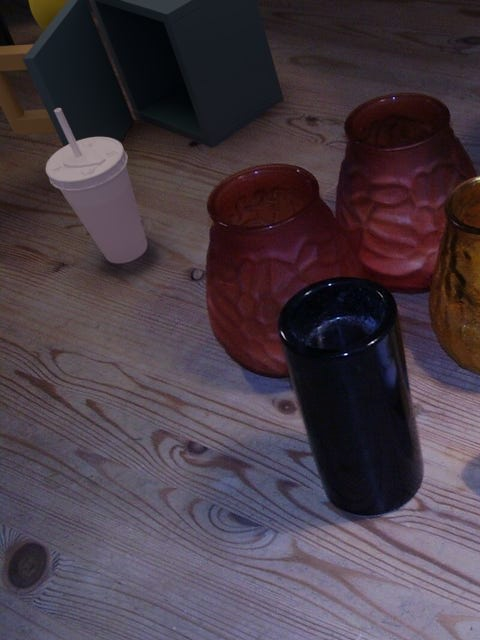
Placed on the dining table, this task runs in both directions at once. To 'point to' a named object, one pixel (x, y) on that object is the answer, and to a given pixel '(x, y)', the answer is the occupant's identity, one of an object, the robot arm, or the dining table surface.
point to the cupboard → (191, 63)
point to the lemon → (45, 10)
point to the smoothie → (99, 192)
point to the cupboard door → (67, 80)
